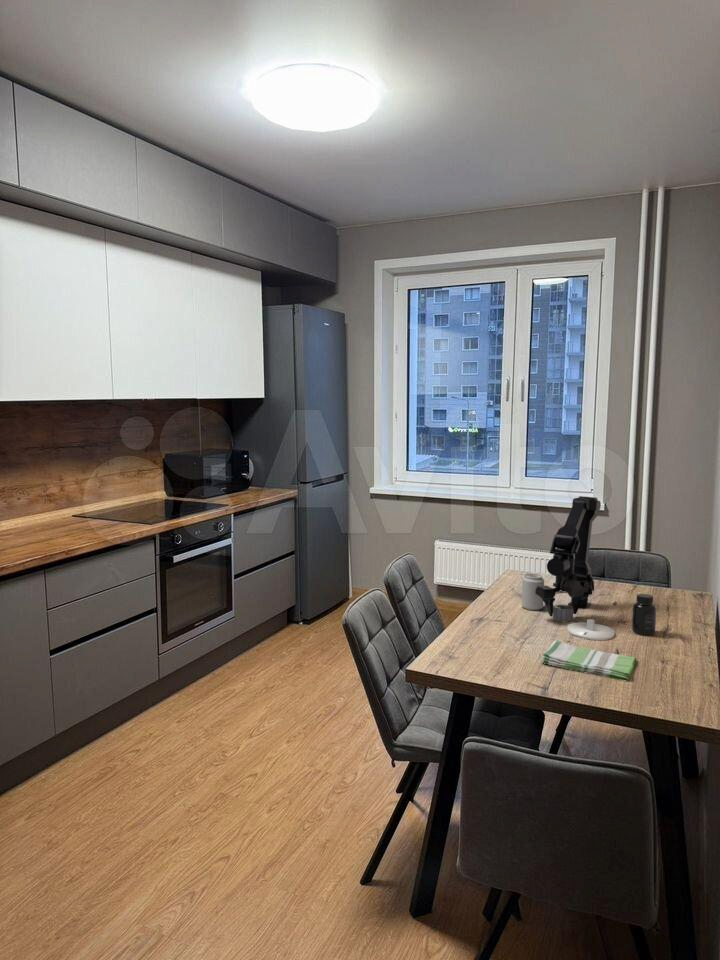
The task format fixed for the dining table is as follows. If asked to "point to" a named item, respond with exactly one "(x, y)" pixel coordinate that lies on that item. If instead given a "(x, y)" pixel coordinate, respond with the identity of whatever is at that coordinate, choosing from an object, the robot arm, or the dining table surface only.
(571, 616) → the grey segmented ring
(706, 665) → the dining table surface
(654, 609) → the supplement bottle
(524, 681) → the dining table surface
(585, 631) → the shaft hub
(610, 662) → the dish towel
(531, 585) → the can
